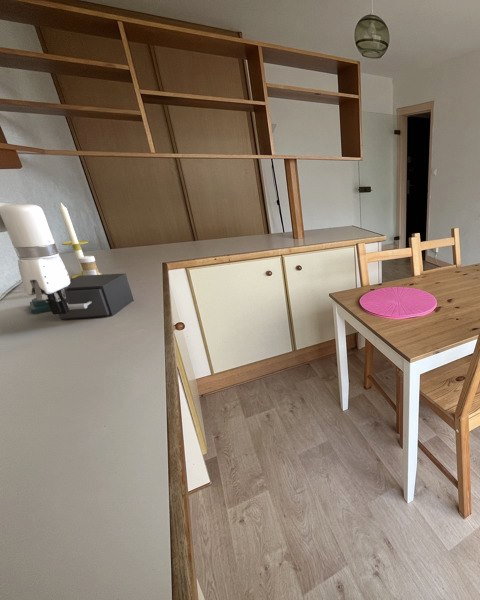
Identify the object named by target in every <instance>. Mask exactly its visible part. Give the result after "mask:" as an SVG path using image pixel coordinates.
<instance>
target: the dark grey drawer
mask: <svg viewBox="0 0 480 600" xmlns="http://www.w3.org/2000/svg"><path fill="white" fill-rule="evenodd" d="M65 294H66V302H67V305H68V307H69V310H70V311H69V312H67V313H66V314H58V317H59V319H60V320H61V319H64V318H77V317H91V316H104V315H109V311H108V308H107V305H106V302H105V299H104V296H103V293H102V290H101V289H100V288H98V289H80V290H66V291H65Z"/></svg>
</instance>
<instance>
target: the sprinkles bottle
mask: <svg viewBox="0 0 480 600" xmlns="http://www.w3.org/2000/svg"><path fill="white" fill-rule="evenodd" d="M78 260H79V262H80V264H81V266H82V269H83V272H84V275H100V274H99V273H100V271H99V269H98V266H97V264H96V259H95V256H94V255H84V257H79V258H78ZM78 260H77V261H78Z"/></svg>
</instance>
